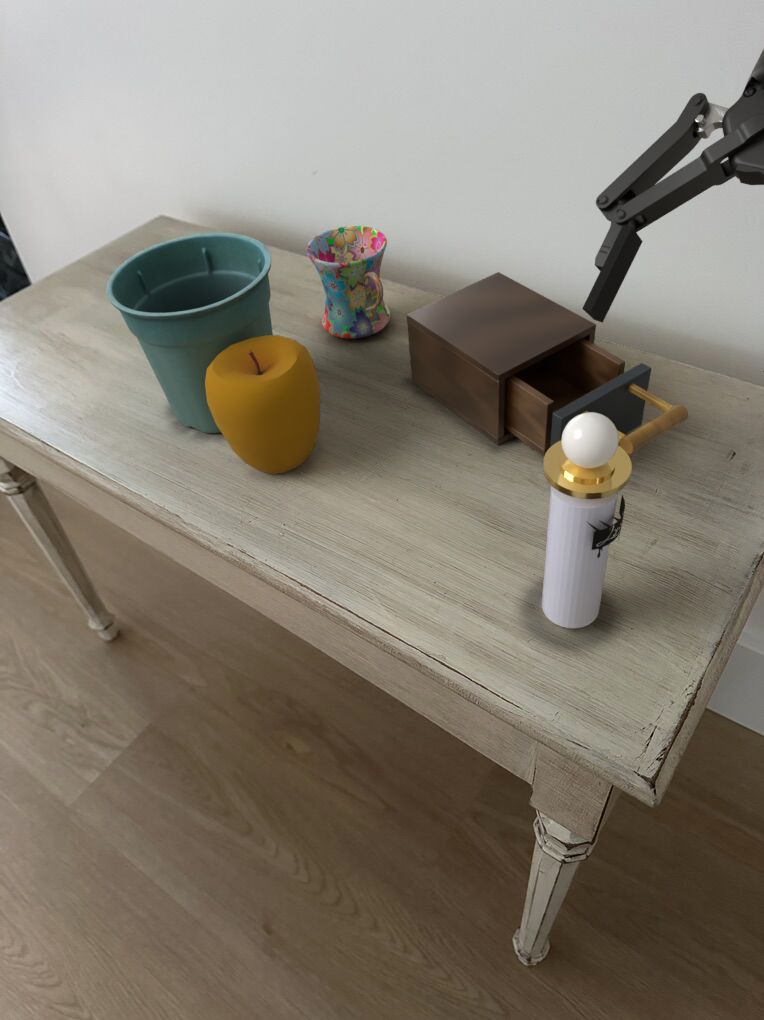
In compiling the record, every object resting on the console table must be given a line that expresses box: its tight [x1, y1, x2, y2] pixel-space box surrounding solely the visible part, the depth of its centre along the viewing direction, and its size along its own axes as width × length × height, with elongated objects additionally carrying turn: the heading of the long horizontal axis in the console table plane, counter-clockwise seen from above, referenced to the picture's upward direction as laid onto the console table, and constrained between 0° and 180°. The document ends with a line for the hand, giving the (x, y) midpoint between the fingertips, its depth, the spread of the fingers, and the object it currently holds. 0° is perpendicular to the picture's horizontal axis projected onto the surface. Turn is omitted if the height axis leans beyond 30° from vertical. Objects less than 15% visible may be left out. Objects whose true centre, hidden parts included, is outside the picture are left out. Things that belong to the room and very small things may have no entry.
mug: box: [306, 225, 391, 340], centre depth 93 cm, size 12×9×11 cm
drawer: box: [504, 338, 690, 457], centre depth 76 cm, size 20×11×7 cm, turn 35°
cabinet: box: [406, 271, 597, 446], centre depth 83 cm, size 15×13×9 cm
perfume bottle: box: [541, 412, 633, 629], centre depth 57 cm, size 6×6×20 cm
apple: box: [205, 334, 321, 475], centre depth 77 cm, size 11×11×13 cm
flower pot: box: [105, 232, 274, 434], centre depth 84 cm, size 16×16×16 cm
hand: (676, 345), depth 56 cm, fingers open, 13 cm apart
